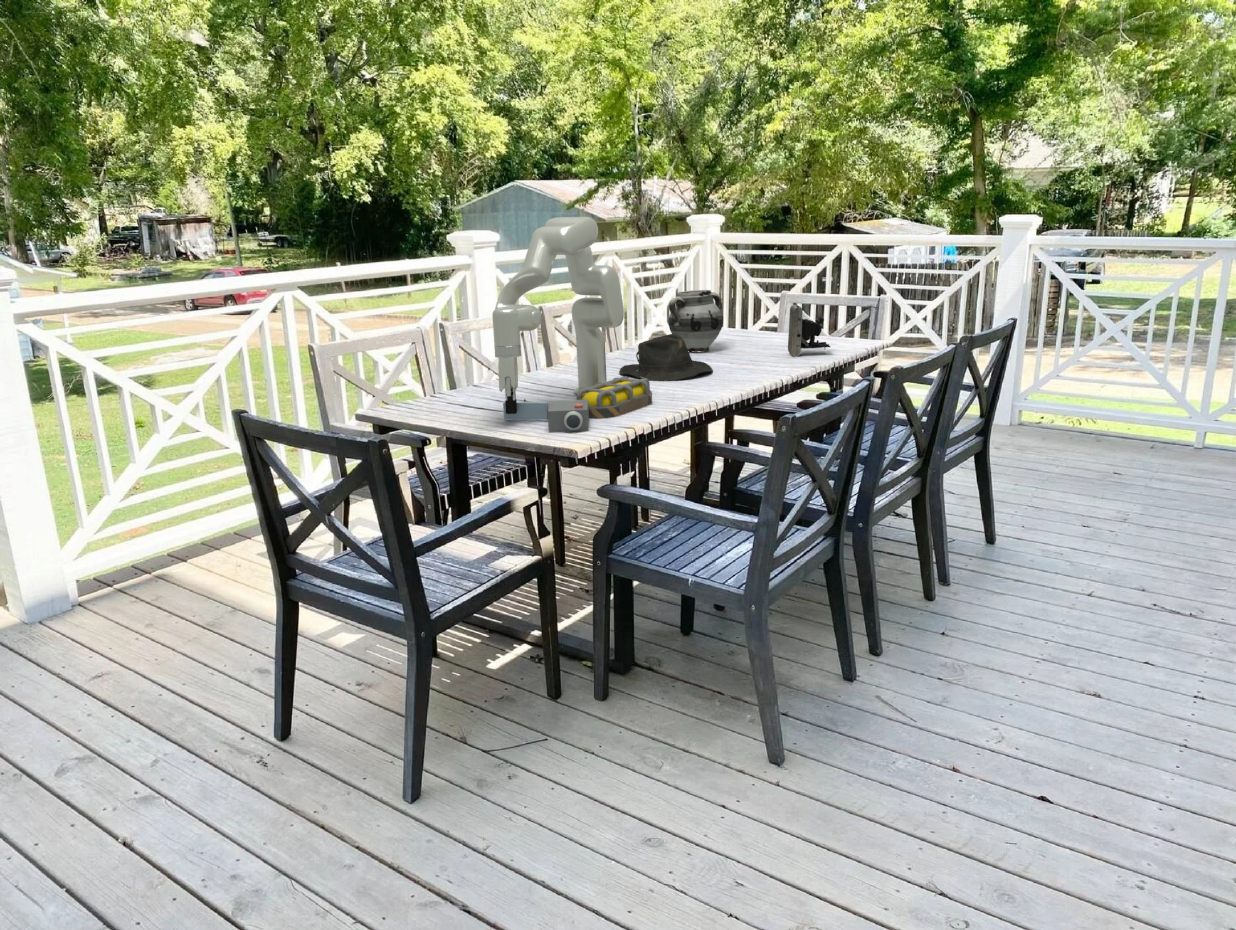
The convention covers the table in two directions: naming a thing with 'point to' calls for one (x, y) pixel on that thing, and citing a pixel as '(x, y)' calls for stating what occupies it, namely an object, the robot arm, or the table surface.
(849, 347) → the table surface
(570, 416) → the camera housing
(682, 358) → the hat
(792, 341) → the vintage camera
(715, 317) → the ceramic pot
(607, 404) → the cage light
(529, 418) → the side door
